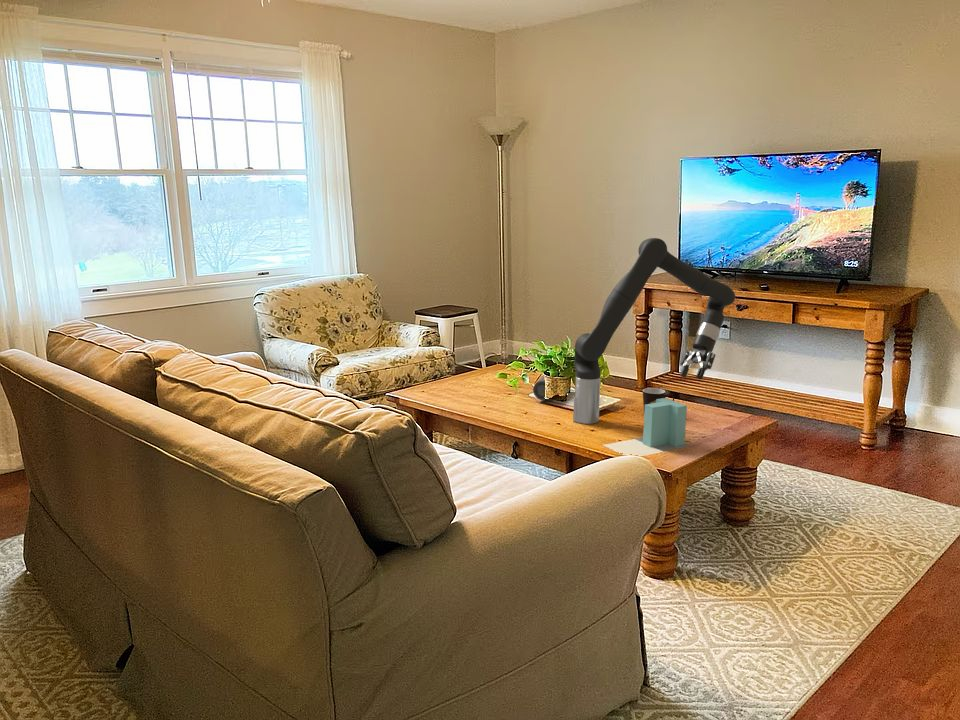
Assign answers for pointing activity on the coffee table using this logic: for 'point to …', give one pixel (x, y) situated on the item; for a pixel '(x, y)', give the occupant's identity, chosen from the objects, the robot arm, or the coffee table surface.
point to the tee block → (664, 423)
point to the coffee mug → (653, 395)
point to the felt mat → (640, 447)
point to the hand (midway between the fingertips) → (690, 377)
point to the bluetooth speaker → (539, 389)
